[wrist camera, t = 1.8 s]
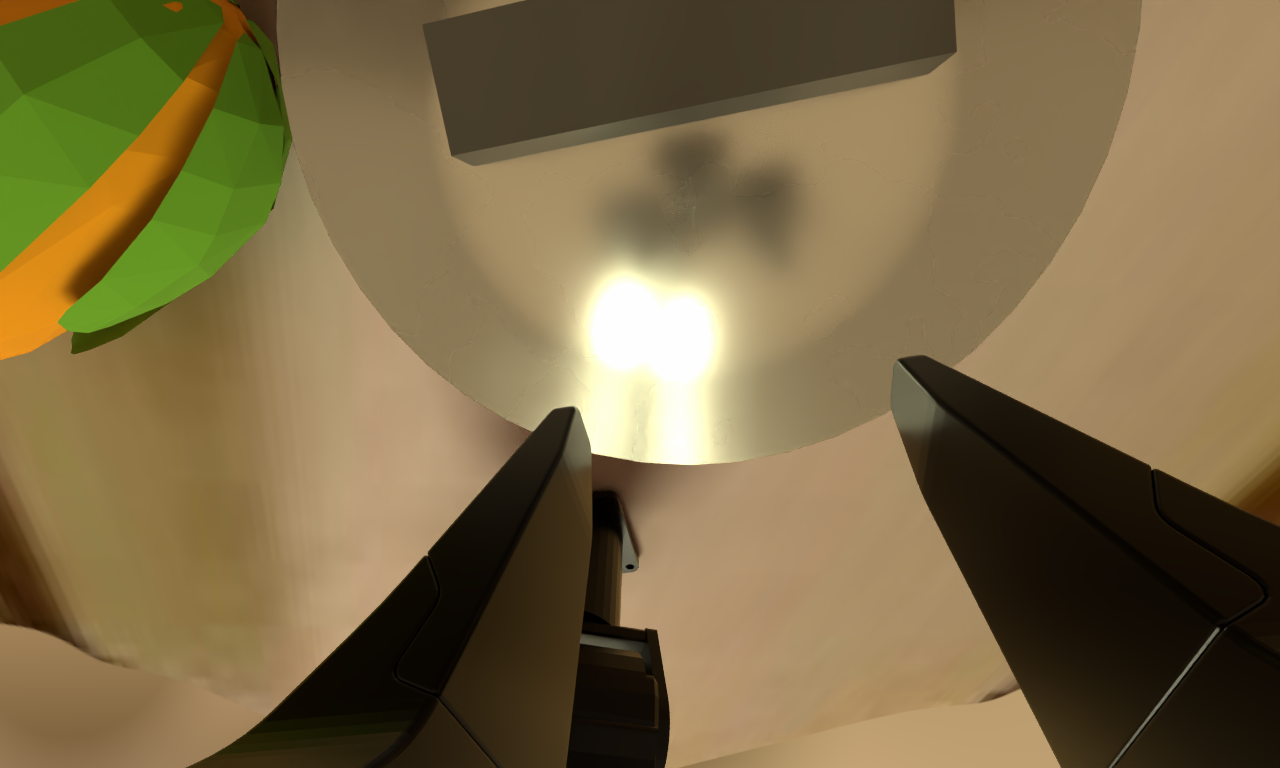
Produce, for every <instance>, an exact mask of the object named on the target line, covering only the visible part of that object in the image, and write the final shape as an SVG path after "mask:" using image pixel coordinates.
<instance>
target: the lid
mask: <svg viewBox="0 0 1280 768" xmlns="http://www.w3.org/2000/svg"><path fill="white" fill-rule="evenodd" d="M1141 4H1142V0H277V41H278V52H279V62H280V72H281V83H282V91H283V96H284V100H285V105H286V110H287V115H288V119H289V124H290V129H291V134H292V138H293V143H294V147H295V150H296V153H297V156H298V159H299V162H300V165H301V168H302V171H303V174H304V177H305V180H306V183H307V186H308V189H309V192H310V195H311V197H312V200H313V202H314V204H315V206H316V208H317V210H318V213H319V215H320V217H321V219H322V221H323V223H324V225H325V228H326V230H327V232H328V234H329V236H330V238H331V241H332V243H333V245H334V247H335V248H336V250H337V251H338V253H339V255H340V256H341V258H342V260H343V261H344V263H345V265H346V266H347V268H348V269H349V271H350V273H351V274H352V276H353V278H354V279H355V281H356V283H357V284H358V286H359V287H360V289H361V290H362V292H363V293H364V294H365V296H366V297H367V298H368V299H369V301H370V302H371V303H372V305H373V306H374V307H375V308H376V310H377V311H378V312H379V313H380V315H381V316H382V317H383V319H384V320H385V321H386V322H387V324H388V325H389V326H390V328H391V329H392V330H393V331H394V332H395V333H396V334H397V335H398V336H399V337H400V338H401V339H402V340H403V341H404V342H405V343H406V344H407V345H408V346H409V347H410V348H411V349H412V350H413V351H414V352H415V353H416V354H417V355H418V356H419V357H420V358H421V359H422V360H423V361H424V362H425V363H426V364H427V365H428V366H429V367H431V368H432V369H433V370H434V371H436V372H437V373H438V374H439V375H441V376H442V377H443V378H445V379H446V380H447V381H448V382H450V383H451V384H452V385H453V386H455V387H456V388H457V389H458V390H460V391H461V392H462V393H463V394H465V395H466V396H468V397H470V398H471V399H473V400H474V401H476V402H478V403H479V404H481V405H483V406H484V407H486V408H488V409H489V410H491V411H492V412H494V413H496V414H497V415H499V416H501V417H502V418H504V419H506V420H508V421H510V422H512V423H514V424H516V425H519V426H521V427H523V428H525V429H527V430H530V431H532V432H533V431H534V430H535V429H536V428H537V427H538V425H539V424H540V423H541V422H542V421H543V420H544V419H545V417H546V416H547V415H548V414H549V413H550V412H551V411H552V410H553V409H556V408H562V407H569V406H576V407H577V408H578V409H579V411H580V413H581V416H582V419H583V422H584V425H585V428H586V431H587V435H588V438H589V441H590V445H591V453H594V454H599V455H604V456H610V457H615V458H621V459H626V460H632V461H637V462H645V463H663V464H681V465H698V464H712V463H727V462H740V461H745V460H750V459H755V458H760V457H765V456H771V455H776V454H781V453H786V452H790V451H793V450H796V449H799V448H802V447H805V446H808V445H811V444H814V443H818V442H821V441H824V440H827V439H830V438H833V437H836V436H838V435H840V434H843V433H845V432H847V431H849V430H851V429H853V428H855V427H858V426H860V425H862V424H864V423H866V422H868V421H871V420H873V419H875V418H877V417H879V416H881V415H883V414H885V413H887V412H888V411H890V410H892V409H891V388H892V378H893V368H894V364H895V361H896V360H897V359H899V358H902V357H909V356H915V355H925V356H928V357H930V358H932V359H934V360H936V361H938V362H940V363H942V364H944V365H946V366H948V367H950V368H953V367H954V366H955V365H956V364H958V363H959V362H960V361H962V360H963V359H964V358H965V357H967V356H968V355H969V354H970V353H972V352H973V351H974V350H975V349H976V348H977V347H978V346H979V345H980V344H981V343H982V342H983V341H984V340H985V339H986V338H987V337H988V336H989V335H990V334H991V333H992V332H993V331H994V330H995V329H996V328H997V327H998V326H999V325H1000V324H1001V323H1002V322H1003V321H1004V320H1005V318H1006V317H1007V316H1008V315H1009V314H1010V313H1011V312H1012V311H1013V310H1014V309H1015V308H1016V307H1017V305H1018V304H1019V303H1020V301H1021V300H1022V299H1023V298H1024V296H1025V295H1026V294H1027V292H1028V291H1029V290H1030V289H1031V287H1032V286H1033V285H1034V283H1035V282H1036V281H1037V280H1038V278H1039V277H1040V276H1041V275H1042V273H1043V272H1044V271H1045V269H1046V268H1047V267H1048V266H1049V264H1050V263H1051V261H1052V259H1053V258H1054V256H1055V255H1056V253H1057V251H1058V250H1059V248H1060V246H1061V245H1062V243H1063V241H1064V240H1065V238H1066V236H1067V235H1068V233H1069V232H1070V230H1071V228H1072V227H1073V225H1074V223H1075V222H1076V220H1077V218H1078V217H1079V215H1080V213H1081V212H1082V210H1083V207H1084V205H1085V203H1086V201H1087V199H1088V197H1089V194H1090V192H1091V190H1092V188H1093V186H1094V183H1095V181H1096V179H1097V177H1098V175H1099V173H1100V170H1101V168H1102V166H1103V164H1104V162H1105V159H1106V157H1107V155H1108V152H1109V149H1110V146H1111V143H1112V140H1113V137H1114V133H1115V130H1116V127H1117V124H1118V121H1119V118H1120V115H1121V112H1122V108H1123V105H1124V102H1125V99H1126V96H1127V93H1128V88H1129V82H1130V77H1131V72H1132V67H1133V62H1134V56H1135V51H1136V46H1137V41H1138V35H1139V30H1140V19H1141Z"/></svg>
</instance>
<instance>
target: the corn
mask: <svg viewBox="0 0 1280 768" xmlns="http://www.w3.org/2000/svg"><path fill="white" fill-rule="evenodd" d="M274 77H275V79H276V81H277V83H278V86H277V90H276V86H275V80H274ZM291 142H292V135H291V130H290V125H289V120H288V115H287V110H286V105H285V100H284V96H283V91H282V85H281V80H280V75H279V70H278V65H277V60H276V55H275V49H274V44H273V43H272V42H271V41H270V40H269V38H268V37H267V36H266V35H265V34H264V33H263V32H262V30H261V29H260V28H259V27H258V26H257V25H256V24H255V22H254V21H251V20H248V19H246V17H245V16H244V15H243V13H242V12H241V10H240V7H239V5H238V4H237V3H236V2H235V1H234V0H0V360H2V359H5V358H9V357H13V356H16V355H20V354H24V353H27V352H31V351H33V350H34V349H36V348H38V347H39V346H41V345H43V344H45V343H46V342H48V341H50V340H52V339H53V338H55V337H57V336H58V335H60V334H62V333H64V332H65V331H73V332H74V333H73V336H72V339H71V340H72V351H71V353H72V354H77V353H80V352H84V351H88V350H91V349H93V348H95V347H98V346H100V345H103V344H105V343H107V342H110V341H112V340H114V339H117V338H119V337H122V336H123V335H125V334H126V333H127V332H129V331H130V330H132V329H133V328H134V327H136V326H137V325H139V324H140V323H141V322H143V321H144V320H146V319H147V318H148V317H150V316H151V315H153V314H154V313H156V312H157V311H158V310H160V309H161V308H163V307H164V306H165V305H167V304H168V303H170V302H171V301H172V300H174V299H175V298H177V297H178V296H180V295H182V294H183V293H185V292H187V291H188V290H190V289H192V288H193V287H195V286H197V285H198V284H200V283H202V282H203V281H205V280H207V279H208V278H210V277H211V276H213V275H214V274H215V273H216V272H217V271H218V270H219V269H220V268H221V267H222V266H223V265H224V264H225V263H226V262H227V261H228V260H229V259H230V258H231V257H232V256H233V255H234V254H235V253H236V252H237V251H238V250H239V249H240V248H241V247H242V246H243V245H244V244H245V243H246V242H247V241H248V240H249V239H250V238H251V237H252V236H253V235H254V234H255V233H256V232H257V231H258V230H259V229H260V228H261V227H262V226H263V225H264V224H265V223H266V221H267V218H268V215H269V213H270V211H271V210H272V209H273V208H274V205H275V201H276V197H277V194H278V190H279V187H280V185H281V179H282V175H283V171H284V168H285V164H286V160H287V157H288V153H289V149H290V146H291Z"/></svg>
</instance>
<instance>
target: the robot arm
mask: <svg viewBox="0 0 1280 768" xmlns="http://www.w3.org/2000/svg"><path fill="white" fill-rule="evenodd" d="M891 409H892V413H893V416H894V419H895V422H896V424H897V427H898V430H899V433H900V436H901V438H902V441H903V444H904V447H905V449H906V452H907V455H908V458H909V461H910V463H911V466H912V469H913V472H914V474H915V477H916V480H917V483H918V485H919V488H920V490H921V493H922V495H923V497H924V499H925V501H926V504H927V506H928V508H929V510H930V512H931V514H932V516H933V517H934V519H935V521H936V523H937V525H938V527H939V529H940V531H941V533H942V535H943V537H944V539H945V541H946V543H947V545H948V547H949V549H950V551H951V553H952V555H953V557H954V559H955V561H956V563H957V565H958V567H959V568H960V570H961V572H962V574H963V576H964V578H965V580H966V582H967V584H968V586H969V588H970V590H971V592H972V594H973V596H974V598H975V600H976V602H977V604H978V606H979V608H980V610H981V612H982V614H983V616H984V618H985V619H986V621H987V623H988V625H989V627H990V629H991V631H992V633H993V635H994V637H995V639H996V641H997V643H998V645H999V647H1000V649H1001V651H1002V653H1003V655H1004V657H1005V659H1006V661H1007V663H1008V665H1009V667H1010V669H1011V670H1012V672H1013V674H1014V676H1015V678H1016V680H1017V682H1018V684H1019V686H1020V688H1021V690H1022V692H1023V694H1024V696H1025V698H1026V700H1027V702H1028V704H1029V706H1030V708H1031V710H1032V712H1033V714H1034V715H1035V717H1036V719H1037V721H1038V723H1039V725H1040V727H1041V729H1042V731H1043V733H1044V735H1045V737H1046V739H1047V741H1048V743H1049V745H1050V747H1051V749H1052V751H1053V753H1054V755H1055V757H1056V759H1057V761H1058V763H1059V765H1060V767H1061V768H1280V526H1279V525H1277V524H1274V523H1272V522H1270V521H1267V520H1265V519H1263V518H1261V517H1258V516H1256V515H1254V514H1251V513H1249V512H1247V511H1245V510H1242V509H1240V508H1238V507H1236V506H1234V505H1231V504H1229V503H1227V502H1225V501H1223V500H1221V499H1219V498H1217V497H1215V496H1212V495H1210V494H1208V493H1206V492H1204V491H1202V490H1200V489H1198V488H1195V487H1193V486H1191V485H1189V484H1187V483H1185V482H1183V481H1181V480H1179V479H1177V478H1175V477H1173V476H1171V475H1169V474H1167V473H1165V472H1163V471H1160V470H1158V469H1153V470H1151V467H1150V465H1148V464H1146V463H1144V462H1142V461H1140V460H1138V459H1136V458H1134V457H1132V456H1130V455H1127V454H1125V453H1123V452H1121V451H1119V450H1117V449H1115V448H1113V447H1111V446H1109V445H1107V444H1105V443H1103V442H1101V441H1099V440H1097V439H1095V438H1093V437H1091V436H1089V435H1087V434H1085V433H1083V432H1081V431H1079V430H1077V429H1075V428H1073V427H1070V426H1068V425H1066V424H1064V423H1062V422H1060V421H1058V420H1056V419H1054V418H1052V417H1050V416H1048V415H1046V414H1044V413H1042V412H1040V411H1038V410H1036V409H1034V408H1032V407H1030V406H1028V405H1026V404H1024V403H1022V402H1020V401H1018V400H1015V399H1013V398H1011V397H1009V396H1007V395H1005V394H1003V393H1001V392H999V391H997V390H995V389H993V388H991V387H989V386H987V385H985V384H983V383H981V382H979V381H977V380H975V379H973V378H971V377H969V376H967V375H965V374H963V373H961V372H958V371H956V370H954V369H952V368H950V367H948V366H946V365H944V364H942V363H940V362H938V361H936V360H934V359H932V358H930V357H928V356H925V355H915V356H909V357H902V358H899V359H897V360H896V361H895V364H894V368H893V378H892V388H891ZM610 500H611V501H610ZM428 556H429V557H428ZM428 556H424V557H423V558H422V559H421V560H420V561H419V562H418V563H417V565H416V566H415V567H414V568H413V569H412V570H411V571H410V573H409V574H408V575H407V576H406V577H405V578H404V579H403V580H402V581H401V582H400V584H399V585H398V586H397V587H396V588H395V589H394V590H393V591H392V592H391V593H390V595H389V596H388V597H387V598H386V599H385V600H384V601H383V602H382V603H381V604H380V605H379V606H378V607H377V608H376V609H375V610H374V611H373V612H372V613H371V614H370V615H369V616H368V617H367V618H366V619H365V620H364V621H363V622H362V623H361V625H360V626H359V627H358V628H357V629H356V630H355V631H354V632H353V633H352V634H351V635H350V636H349V637H348V638H347V639H346V640H344V641H343V642H342V643H341V644H340V645H339V646H338V647H337V648H336V649H335V650H334V651H333V652H332V653H331V654H330V655H329V656H328V657H327V658H326V659H325V660H324V661H323V662H322V663H321V664H320V665H319V666H318V667H317V668H316V669H315V670H314V671H313V672H312V673H311V674H310V675H309V676H308V677H307V678H306V679H305V680H304V681H303V682H302V683H300V684H299V685H298V686H297V687H296V688H295V689H294V690H293V691H292V692H291V693H290V694H289V695H288V696H287V697H286V698H285V699H284V700H283V701H282V702H281V703H280V704H279V705H278V706H277V707H276V708H275V709H274V710H273V711H272V712H271V713H269V714H268V715H267V716H266V717H265V718H264V719H263V720H262V721H261V722H260V723H259V724H257V725H256V726H255V727H253V728H252V729H251V730H250V731H248V732H247V733H246V734H245V735H243V736H242V737H240V738H239V739H237V740H236V741H235V742H233V743H232V744H230V745H229V746H227V747H225V748H223V749H222V750H220V751H218V752H217V753H215V754H213V755H211V756H209V757H208V758H205V759H203V760H201V761H199V762H197V763H195V764H193V765H191V766H188V767H186V768H665V763H666V759H667V752H668V744H669V731H670V712H669V701H668V695H667V689H666V683H665V676H664V670H663V664H662V658H661V652H660V646H659V640H658V634H657V630H654V629H647V628H645V630H641V629H634V628H628V627H621V626H620V609H621V581H622V573H628V572H634V571H636V570H637V569H638V568H639V560H638V557H637V553H636V550H635V547H634V544H633V540H632V537H631V534H630V531H629V528H628V524H627V521H626V518H625V515H624V512H623V508H622V505H621V502H620V499H619V496H618V494H617V493H616V492H614V491H601V492H593V493H592V453H591V445H590V441H589V438H588V435H587V431H586V428H585V425H584V422H583V419H582V416H581V413H580V411H579V409H578V408H577V407H576V406H569V407H562V408H556V409H553V410H552V411H551V412H550V413H549V414H548V415H547V416H546V417H545V419H544V420H543V421H542V422H541V423H540V424H539V425H538V427H537V428H536V429H535V430H534V431H533V432H532V433H531V435H530V436H529V437H528V438H527V439H526V440H525V441H524V443H523V444H522V445H521V446H520V447H519V448H518V449H517V451H516V452H515V453H514V454H513V455H512V456H511V457H510V459H509V460H508V461H507V462H506V463H505V464H504V465H503V467H502V468H501V469H500V470H499V471H498V472H497V473H496V475H495V476H494V477H493V478H492V479H491V480H490V481H489V483H488V484H487V485H486V486H485V487H484V488H483V489H482V491H481V492H480V493H479V494H478V495H477V496H476V497H475V499H474V500H473V501H472V502H471V503H470V504H469V505H468V507H467V508H466V509H465V510H464V511H463V512H462V513H461V515H460V516H459V517H458V518H457V519H456V520H455V521H454V523H453V524H452V525H451V526H450V527H449V528H448V529H447V531H446V532H445V533H444V534H443V535H442V536H441V537H440V539H439V540H438V541H437V542H436V543H435V544H434V545H433V547H432V548H431V549H430V550H429V551H428Z"/></svg>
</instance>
